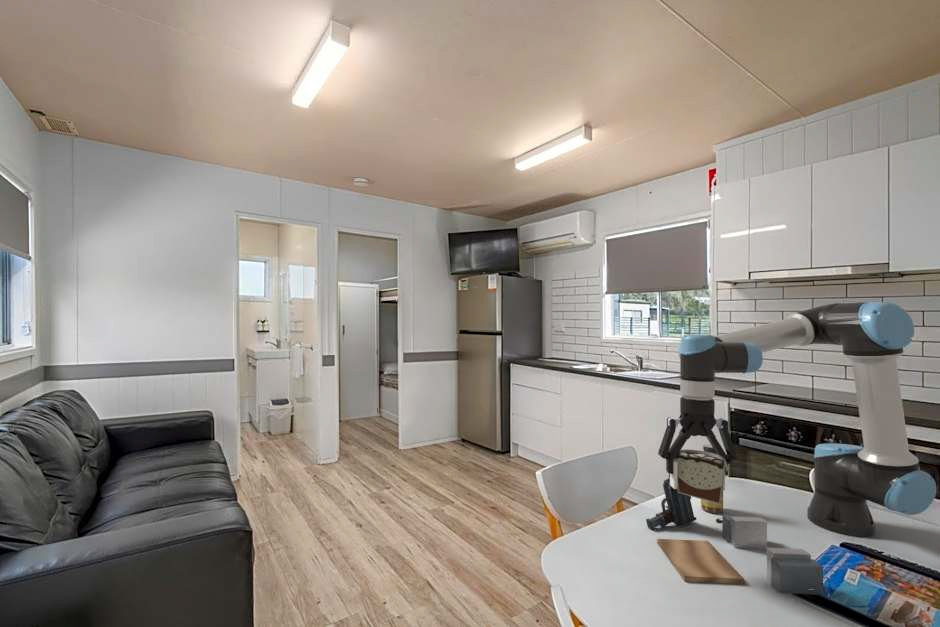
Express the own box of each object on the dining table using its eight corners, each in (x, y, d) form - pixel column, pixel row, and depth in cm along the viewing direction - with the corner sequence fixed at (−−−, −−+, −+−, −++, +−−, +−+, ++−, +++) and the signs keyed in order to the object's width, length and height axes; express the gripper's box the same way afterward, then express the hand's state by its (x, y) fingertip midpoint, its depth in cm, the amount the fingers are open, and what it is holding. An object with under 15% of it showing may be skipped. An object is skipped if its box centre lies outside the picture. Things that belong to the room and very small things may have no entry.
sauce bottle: (727, 514, 134) (727, 449, 134) (707, 514, 134) (707, 449, 134) (715, 505, 140) (715, 443, 141) (696, 505, 140) (696, 443, 141)
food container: (735, 498, 105) (734, 456, 105) (727, 506, 101) (727, 462, 101) (681, 484, 114) (681, 446, 114) (672, 491, 109) (672, 450, 110)
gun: (635, 479, 125) (677, 461, 129) (648, 535, 126) (690, 515, 130) (641, 483, 122) (684, 464, 126) (655, 539, 123) (697, 519, 127)
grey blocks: (748, 531, 123) (748, 506, 123) (823, 594, 95) (823, 562, 95) (715, 530, 124) (714, 505, 124) (779, 592, 95) (779, 560, 95)
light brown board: (707, 545, 115) (707, 540, 115) (744, 584, 98) (744, 578, 98) (657, 543, 116) (657, 538, 116) (684, 581, 99) (684, 576, 99)
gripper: (737, 395, 111) (737, 483, 111) (644, 393, 112) (643, 480, 112) (754, 401, 103) (754, 495, 103) (654, 399, 105) (654, 491, 105)
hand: (697, 487), depth 108 cm, fingers closed on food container, 10 cm apart
